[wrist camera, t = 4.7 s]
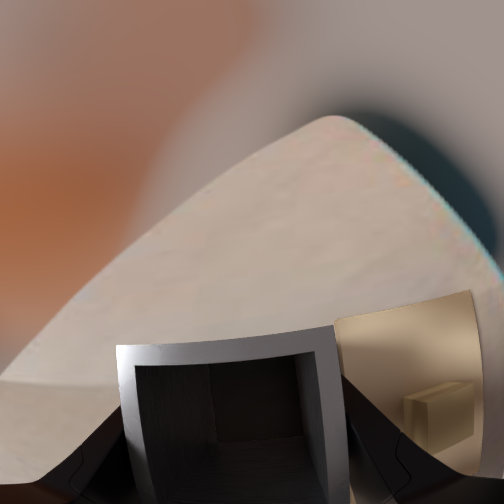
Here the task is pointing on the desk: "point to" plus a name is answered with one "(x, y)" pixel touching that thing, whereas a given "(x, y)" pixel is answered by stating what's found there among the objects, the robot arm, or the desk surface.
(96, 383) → the desk surface
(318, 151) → the desk surface
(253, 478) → the grey square storage bin
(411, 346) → the board
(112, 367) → the desk surface
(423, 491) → the robot arm
